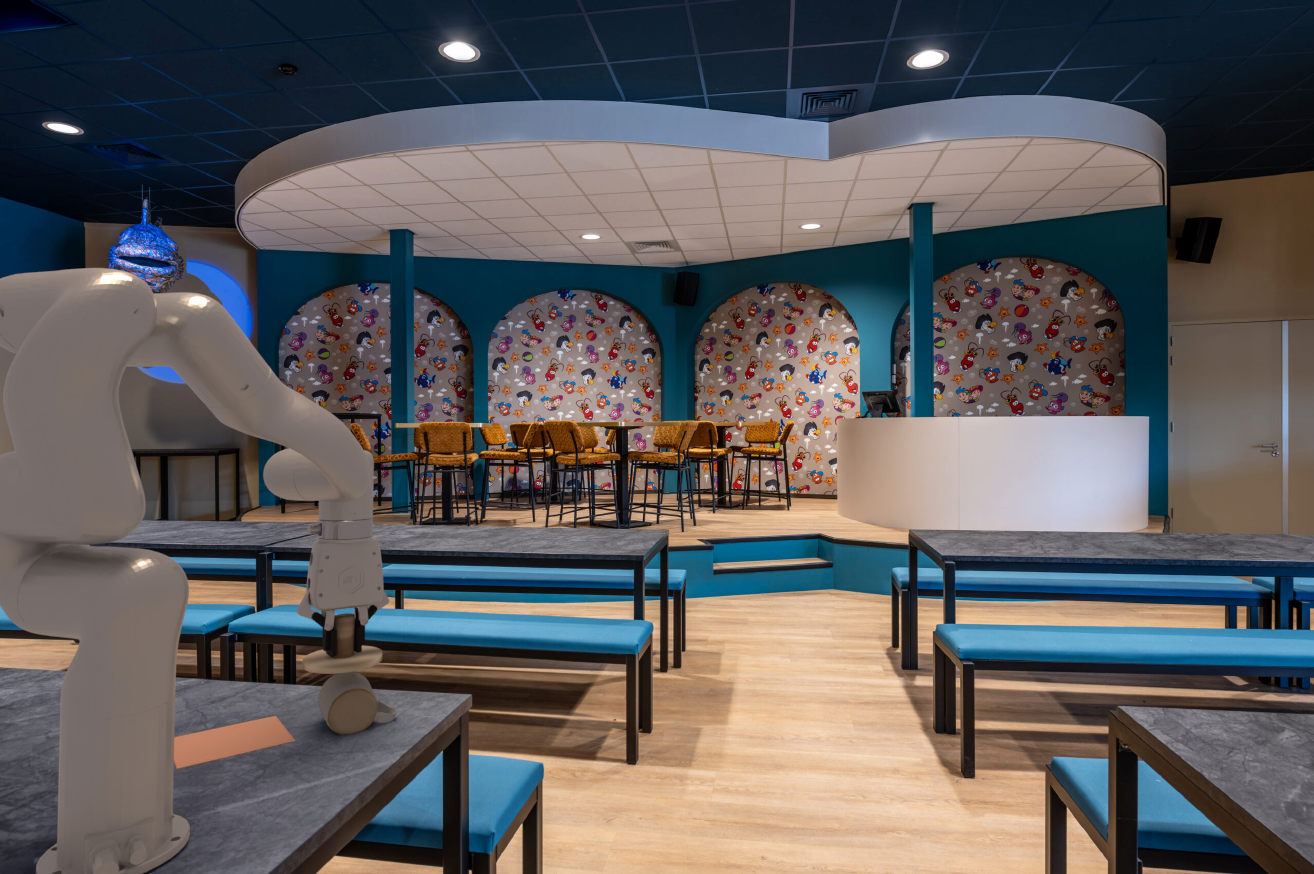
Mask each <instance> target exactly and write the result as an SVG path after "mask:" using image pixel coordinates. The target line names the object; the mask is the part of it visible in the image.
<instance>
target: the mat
mask: <svg viewBox="0 0 1314 874" xmlns="http://www.w3.org/2000/svg"><path fill="white" fill-rule="evenodd" d="M293 742H296V739H295V738H294V736H292V735H291V733H290V732H289V731H288V730H287V728H286V726H285V725H284V724H283V723H282V722H281V720H280V719H279V718H278V717H277V715H274V716H268V717H263V718H260V719H259V718H257V719H253V720H249V721H244V722H240V723H235V724H230V725H225V726H222V727H221V726H220V727H216V728H211V729H207V730H203V731H202V730H201V731H198V732H197V731H196V732H192V733H188V734H184V735H178V736H174V766H175V769H176V770H179V769H183V768H188V767H192V766H196V765H200V764H205V763H208V762H209V763H210V762H214V761H218V760H221V759H225V758H229V757H235V756H239V755H242V754H243V755H244V754H246V753H247V754H248V753H251V752H255V751H256V752H257V751H259V750H264V749H268V748H272V747H276V746H280V745H284V744H290V743H293Z"/></svg>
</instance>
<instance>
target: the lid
mask: <svg viewBox="0 0 1314 874" xmlns="http://www.w3.org/2000/svg"><path fill="white" fill-rule="evenodd" d="M334 629H336V630H337V655H336V656H335V657H330V656H329V655H328V654H326V651H323V649H320V650H316V651H314V652H310V653H309V654H308V653H307V654H306V655H305V656H303V658H302V668H303V670H304V671H305V672H309V673H313V674H324V675H325V674H327V675H328V674H330V675H332V674H333V675H335V674H337V673H346V672H353V671H354V672H357V671H358V672H359V671H361V670H366V669H369V668H371V667H374V666H377V665H378V664H380V663H381V662H382V660H383V650H382V649H381V648H378V647H376V646H372V645H371V646H370V645H362V652H359V653H357V652H355V651H354V638H355V614H354V613H351V612H350V613H348V612H347V613H339V614H338V613H337V614H335V616H334Z"/></svg>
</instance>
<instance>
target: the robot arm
mask: <svg viewBox="0 0 1314 874" xmlns="http://www.w3.org/2000/svg"><path fill="white" fill-rule="evenodd" d="M0 348H2V349H5V350H6V351H8V352H10V353H13V354H15V356H14V358H13V360H12V361H11V364H10V365H9V369H8V370H7V374H6V377H5V381H4V384H3V391H2V393H3V394H2V399H3V400H2V401H3V402H2V403H3V411H4V416H5V421H6V425H7V426H8V430H9V434H10V437H11V441H12V446H13V448H14V450H13V451H9V452H6V453H5V452H4V453H2V454H0V607H1V609H2V611H3V612H4V614H5V616H6V617H7V618H8V619H9V620H10V621H11V622H12V623H13V624H14V625H16V627H18V628H19V629H22V630H24V631H26V632H28V633H31V634H36V635H41V636H49V637H56V638H57V637H58V638H65V639H66V638H67V639H74V640H79V643H78V648H77V649H76V652H75V654H74V656H73V658H72V660H71V662H70V663H69V666H68V668H67V670H66V672H65V675H64V678H63V681H62V685H61V691H60V700H59V701H60V702H59V715H60V716H59V747H58V748H59V749H58V750H59V751H58V753H59V754H58V755H59V756H58V786H57V787H58V791H57V792H58V793H57V794H58V795H57V826H56V827H57V830H56V831H57V834H56V835H57V837H56V838H57V840H56V843H55V844H54V845H52V846H51V847H50V848H48V849H47V850H46V851H45V852H44V853H43V854H42V855H41V856H40V858H39V859H38V861H37V863H36V865H35V866H36V867H35V874H144V873H147V872H150V871H151V870H153V869H155V868H157V867H159V866H161V865H163V864H165V863H166V862H167V861H169V860H170V859H172V858H173V857H175V856H176V855H177V854H178V853H180V851H181V850H182V849H183V848H184V847H185V846H186V844H187V843H188V841H189V840H190V835H191V831H190V830H191V828H190V827H191V825H190V822H189V821H188V819H186V818H185V817H183V816H182V815H178V814H175V813H174V812H173V811H174V808H173V807H174V772H175V771H174V766H175V763H174V737H175V722H176V719H175V718H176V684H177V683H176V681H177V680H176V679H177V677H176V676H177V661H178V659H177V658H178V650H179V649H178V648H179V642H180V637H181V632H182V628H183V627H182V626H183V623H184V621H185V617H186V612H187V608H188V603H189V596H190V585H189V584H190V583H189V580H188V577H187V574H186V572H185V571H184V569H183V567H182V566H181V565H180V564H179V563H178V562H177V561H175V560H174V559H173V558H172V557H170V556H168V555H166V554H164V553H161V552H159V551H155V550H151V549H145V548H138V547H136V548H135V547H121V546H120V547H119V546H109V545H108V546H105V545H104V546H95V545H101V544H102V545H103V544H109V543H112V542H114V541H115V542H116V541H119V540H122V539H125V538H126V537H128V536H130V535H131V534H132V533H134V531H136V530H137V529H138V528H139V526H140V525H141V523H142V521H143V519H144V518H145V515H146V504H147V503H146V495H145V491H144V487H143V484H142V481H141V480H142V479H141V477H140V474H139V473H140V472H139V471H138V467H137V463H136V460H135V457H134V454H133V453H134V452H133V451H132V447H131V443H130V441H129V437H128V434H127V431H126V428H125V425H124V420H123V416H122V410H121V406H120V396H119V394H120V384H121V382H122V377H123V375H124V374H125V371H126V368H127V367H131V368H132V367H134V368H145V367H146V368H150V367H156V368H157V367H169V368H170V369H172V370H173V371H174V372H175V373H176V374H177V375H178V376H179V378H181V379H182V381H183V382H184V383H185V384H186V385H187V386H188V387H189V388H190V389H191V390H192V391H193V393H194V394H195V395H196V396H197V397H198V398H199V399H200V401H201V402H202V403H203V404H204V405H205V407H206V408H207V409H208V410H209V411H210V412H211V413H212V414H213V415H214V417H215V418H216V419H217V420H218V421H219V422H220V423H221V424H223V425H225V426H227V427H229V428H231V429H234V430H236V431H238V432H241V433H243V434H245V435H248V436H251V437H255V438H259V439H262V440H264V441H268V442H271V443H272V442H273V443H274V444H278V445H281V446H283V447H285V449H283V450H280V451H277V452H276V453H274V454H273V455H272V456H271V457H270V458H269V459H268V460H267V461H266V463H265V465H264V468H263V481H264V485H265V486H266V487H267V489H268V490H269V491H270V492H271V493H272V494H273V495H275V496H276V497H279V498H281V499H283V500H289V501H305V502H316V501H318V519H317V520H316V521H317V522H316V523H314V524H309V525H308V526H307V534H308V535H314V536H316V537H317V538H318V539H317V540H314V541H313V544H312V548H311V553H310V558H309V563H308V569H307V577H306V579H307V580H306V590H305V592H306V593H305V594H304V596H303V598H302V599H301V601H300V604H299V605H298V606H297V608H296V614H297V615H299V616H301V617H303V618H306V619H308V620H312V621H313V622H315V623H316V624H317V625H319V626H320V627H321V628H322V633H321V634H322V637H321V638H322V640H321V641H322V642H321V647H322V650H323V651H326V654H328V655H329V656H330V657H335V656H336V655H337V630H336V629H334V616H335V615H336V611H338V610H345V609H352V608H353V614H355V638H354V651H355V652H357V653H359V652H362V646H365V644H366V643H365V642H366V625H368V623H369V621H370V620H371V618H372V617H373V616H374V615H375V614H376V613H377V611H379V610H381V609H382V608H384V607H385V606H387V605H388V604H389V603H390V598H389V596H387V593H386V591H385V590H384V571H383V560H382V553H381V546H380V542H379V538H376V537H373V530H374V529H373V526H374V524H373V521H374V520H373V519H374V479H375V478H374V471H375V470H374V469H375V468H374V466H375V462H374V461H375V460H374V456H373V454H372V453H371V452H370V451H368V450H365V449H363V447H362V445H361V444H360V442H359V440H357V438H356V437H355V435H354V434H353V433H352V431H351V430H350V429H349V428H348V426H347V425H346V424H345V423H344V422H343V421H342V420H340V418H338V417H337V416H336V415H334V414H333V413H331V412H330V411H328V410H327V409H326V408H323V407H322V406H321V405H319V404H318V403H316V402H314V401H313V400H311V399H309V397H306V396H305V395H304V394H302V393H299V391H296V390H295V389H293V388H291V387H289V386H287V385H285V383H283V382H282V381H281V380H280V379H279V377H278V376H277V375H276V373H275V372H274V371H273V370H272V368H271V366H269V365H268V363H267V362H266V360H265V359H264V358H263V356H262V355H261V354H260V353H259V351H258V350H257V348H256V347H255V346H254V345H253V343H252V342H251V340H250V339H249V338H248V336H247V335H246V333H244V331H243V329H241V327H240V326H239V325H238V324H237V322H236V320H235V319H234V318H233V317H232V315H230V313H229V312H228V310H227V309H226V308H225V307H224V306H223V305H222V304H221V303H220V302H219V301H218V300H216V299H214V298H213V297H211V296H208V295H205V294H202V293H197V292H183V291H182V292H181V291H180V292H178V291H177V292H163V293H160V292H159V293H154V292H153V291H152V288H151V287H150V286H149V284H148V283H147V282H146V281H144V280H143V279H142V278H140V277H139V276H137V275H136V274H134V273H131V272H128V271H125V270H120V269H115V268H105V267H85V268H70V269H60V270H50V271H37V272H35V271H34V272H23V273H15V274H10V275H8V276H4V277H1V278H0ZM91 545H92V546H91ZM93 545H94V546H93ZM312 608H314V609H315V610H313V609H312ZM316 610H317V611H316ZM319 611H320V612H319Z"/></svg>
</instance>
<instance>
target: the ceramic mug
mask: <svg viewBox="0 0 1314 874" xmlns="http://www.w3.org/2000/svg"><path fill="white" fill-rule="evenodd" d="M317 705H318V708H319V711H320V712H321V714H322V716H323V718H324V721H325V722H326V726H328V728H329V729H330V730H331V731H333V732H334V733H335V734H338V735H341V736H342V735H350V734H355V733H361V732H363V731H365V730H366V729H368V727H370V726H371V725H372V723H373V722H374V723H378V724H384V725H385V724H389V723H391V722H393V721H394V720H395V718H396V716H397V713H398V712H397V710H396V709H395V708H394V707H392V706H391V705H390V704H388V703H386V702H383V701H381V700H378V698H377V695H376V694H375V692H374V690H373V688H372V685H371V684H370V682H369V680H368V679H367V678H366V677H365V676H364V675H363V674H361V673H360V672H357V671H353V672H346V673H335V674H333V675H331V676H330V677H329V678H328V679H327V680H325V682H324V683H323V685H322V686H321V688H320V690H319V693H318V696H317Z"/></svg>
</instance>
